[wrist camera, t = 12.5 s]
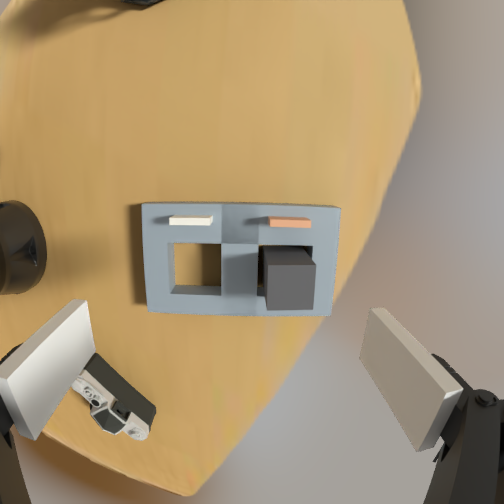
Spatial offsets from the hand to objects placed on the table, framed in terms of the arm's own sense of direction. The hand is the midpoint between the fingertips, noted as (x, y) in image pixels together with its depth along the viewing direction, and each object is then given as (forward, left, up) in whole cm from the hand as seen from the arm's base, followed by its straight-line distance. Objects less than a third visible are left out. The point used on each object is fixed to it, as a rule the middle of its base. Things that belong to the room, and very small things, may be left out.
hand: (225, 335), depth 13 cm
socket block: (+2, -2, -28) cm, 28 cm away
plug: (+7, +1, -28) cm, 29 cm away
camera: (+4, -35, -29) cm, 45 cm away
